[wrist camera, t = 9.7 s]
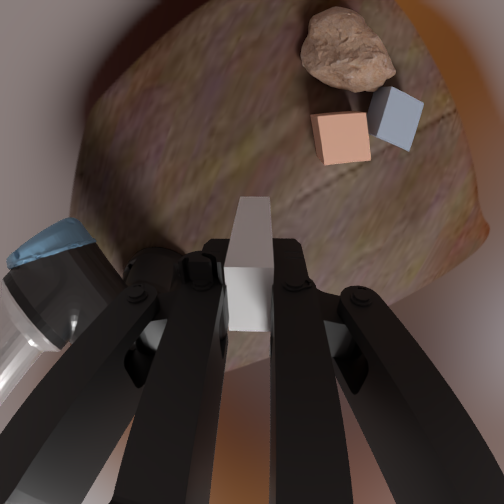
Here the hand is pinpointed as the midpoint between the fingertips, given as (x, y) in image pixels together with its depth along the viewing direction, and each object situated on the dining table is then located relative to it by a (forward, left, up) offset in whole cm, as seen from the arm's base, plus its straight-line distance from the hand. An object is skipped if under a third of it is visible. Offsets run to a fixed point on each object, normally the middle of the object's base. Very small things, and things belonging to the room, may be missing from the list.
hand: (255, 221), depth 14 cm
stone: (+9, +15, -25) cm, 31 cm away
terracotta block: (+9, +3, -25) cm, 27 cm away
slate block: (+16, +7, -25) cm, 31 cm away
